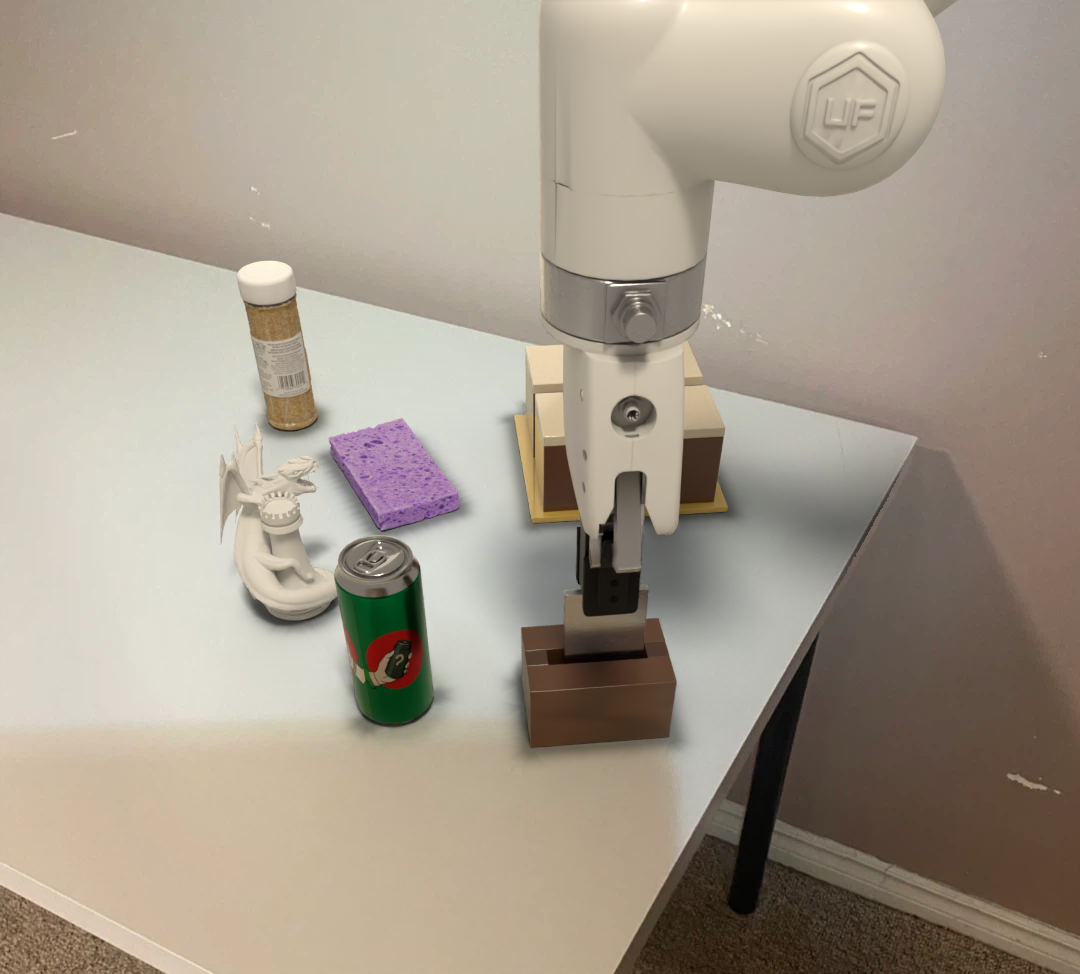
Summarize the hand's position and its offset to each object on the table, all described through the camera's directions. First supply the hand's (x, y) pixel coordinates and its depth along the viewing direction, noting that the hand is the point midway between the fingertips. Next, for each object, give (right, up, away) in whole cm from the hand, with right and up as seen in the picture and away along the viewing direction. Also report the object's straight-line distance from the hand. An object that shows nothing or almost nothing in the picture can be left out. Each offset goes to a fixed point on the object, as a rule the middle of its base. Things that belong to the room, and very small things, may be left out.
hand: (606, 594), depth 60 cm
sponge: (-16, +12, +25) cm, 33 cm away
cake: (+3, +15, +27) cm, 31 cm away
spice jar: (-26, +20, +32) cm, 46 cm away
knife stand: (0, -7, +7) cm, 10 cm away
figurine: (-23, +2, +16) cm, 28 cm away
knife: (0, -5, +5) cm, 7 cm away
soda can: (-14, -6, +8) cm, 17 cm away
